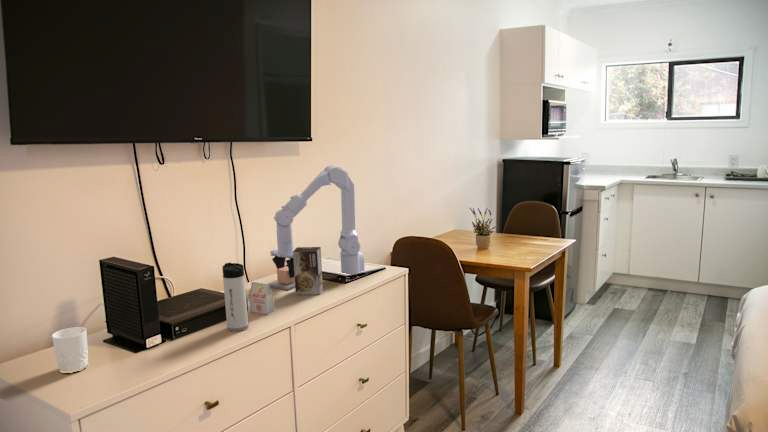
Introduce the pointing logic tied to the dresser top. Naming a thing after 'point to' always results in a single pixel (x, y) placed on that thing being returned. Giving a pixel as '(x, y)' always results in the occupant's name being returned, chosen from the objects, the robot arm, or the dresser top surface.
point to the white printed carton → (261, 298)
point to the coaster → (282, 285)
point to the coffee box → (308, 270)
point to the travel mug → (235, 296)
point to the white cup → (71, 348)
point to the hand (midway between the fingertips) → (287, 276)
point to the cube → (284, 276)
